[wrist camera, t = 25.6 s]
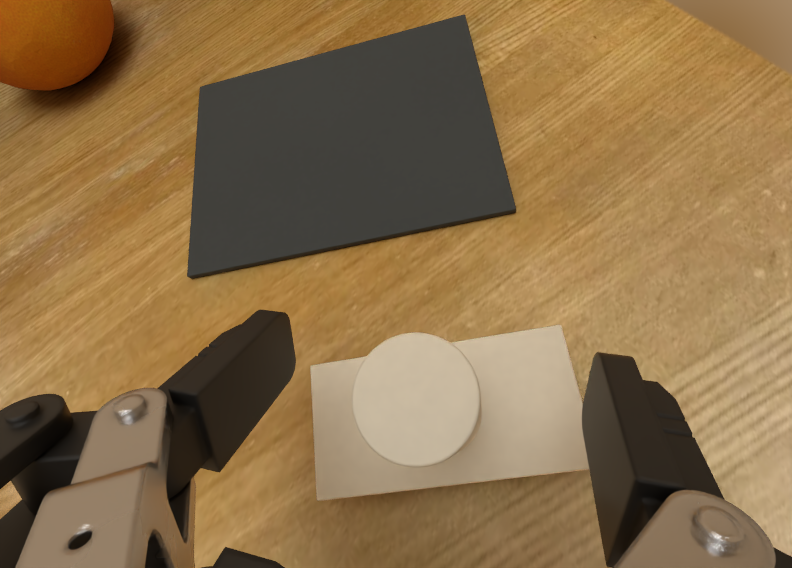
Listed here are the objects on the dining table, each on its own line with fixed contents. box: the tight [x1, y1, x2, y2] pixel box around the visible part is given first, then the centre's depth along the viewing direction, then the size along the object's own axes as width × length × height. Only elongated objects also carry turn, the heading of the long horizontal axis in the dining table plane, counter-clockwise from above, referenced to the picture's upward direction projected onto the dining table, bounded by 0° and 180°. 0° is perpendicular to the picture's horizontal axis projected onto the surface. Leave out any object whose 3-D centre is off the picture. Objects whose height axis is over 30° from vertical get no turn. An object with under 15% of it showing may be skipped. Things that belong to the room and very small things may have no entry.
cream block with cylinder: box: [310, 325, 589, 501], centre depth 14 cm, size 10×5×10 cm, turn 97°
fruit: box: [0, 0, 114, 90], centre depth 29 cm, size 10×10×8 cm
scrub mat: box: [187, 15, 516, 279], centre depth 24 cm, size 18×14×1 cm
